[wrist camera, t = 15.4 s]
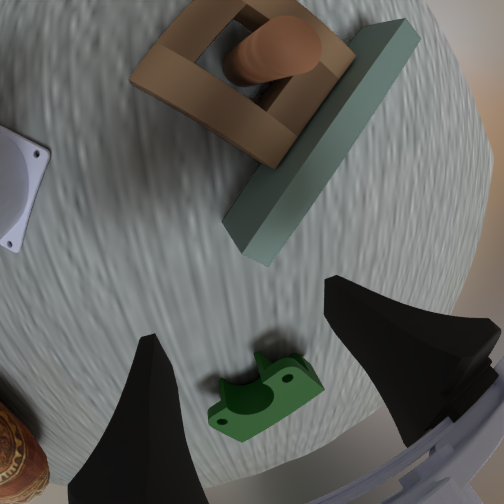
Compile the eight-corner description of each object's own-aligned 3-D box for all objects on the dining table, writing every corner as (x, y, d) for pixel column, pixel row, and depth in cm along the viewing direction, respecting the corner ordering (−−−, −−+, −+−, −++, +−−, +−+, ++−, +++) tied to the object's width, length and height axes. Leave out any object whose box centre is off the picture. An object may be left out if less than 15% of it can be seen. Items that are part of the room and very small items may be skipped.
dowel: (212, 66, 15) (245, 39, 9) (244, 38, 14) (291, 5, 9) (245, 95, 16) (293, 86, 11) (274, 68, 16) (333, 51, 10)
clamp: (256, 324, 32) (303, 346, 24) (286, 351, 34) (334, 375, 26) (190, 401, 28) (218, 446, 20) (226, 422, 30) (260, 464, 22)
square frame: (132, 85, 14) (128, 79, 11) (225, -21, 12) (237, -39, 9) (257, 161, 19) (274, 169, 16) (331, 60, 17) (356, 55, 14)
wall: (221, 222, 20) (241, 253, 16) (362, 27, 16) (405, 18, 12) (243, 234, 21) (268, 267, 17) (377, 43, 17) (421, 38, 12)
